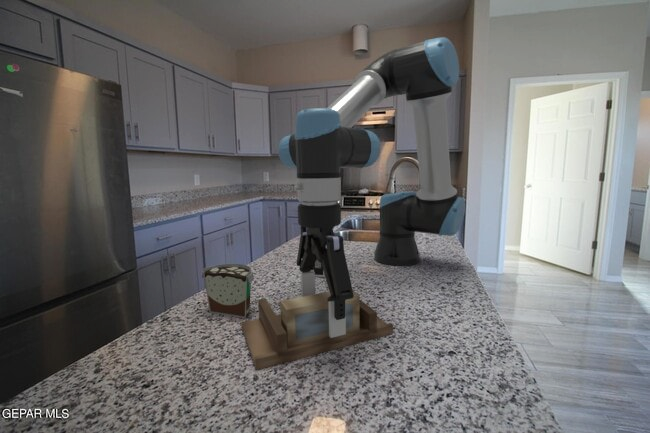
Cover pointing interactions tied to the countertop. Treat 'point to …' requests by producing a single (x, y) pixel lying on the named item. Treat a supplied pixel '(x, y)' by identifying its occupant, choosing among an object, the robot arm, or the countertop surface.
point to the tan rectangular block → (314, 318)
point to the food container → (228, 289)
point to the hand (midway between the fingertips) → (321, 317)
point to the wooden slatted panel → (272, 344)
